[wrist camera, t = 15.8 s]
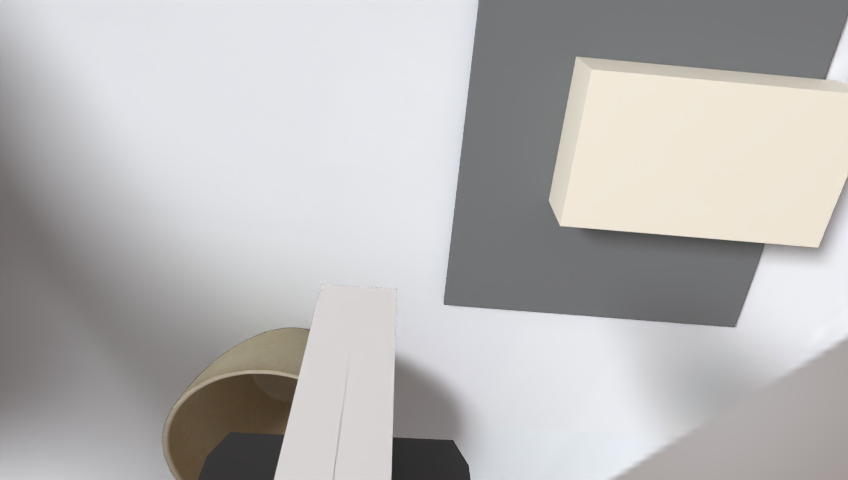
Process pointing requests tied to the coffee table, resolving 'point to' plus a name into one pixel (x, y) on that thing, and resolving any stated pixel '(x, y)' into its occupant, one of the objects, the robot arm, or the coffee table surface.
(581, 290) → the mat
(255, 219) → the coffee table surface
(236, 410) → the flower pot
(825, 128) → the slab
